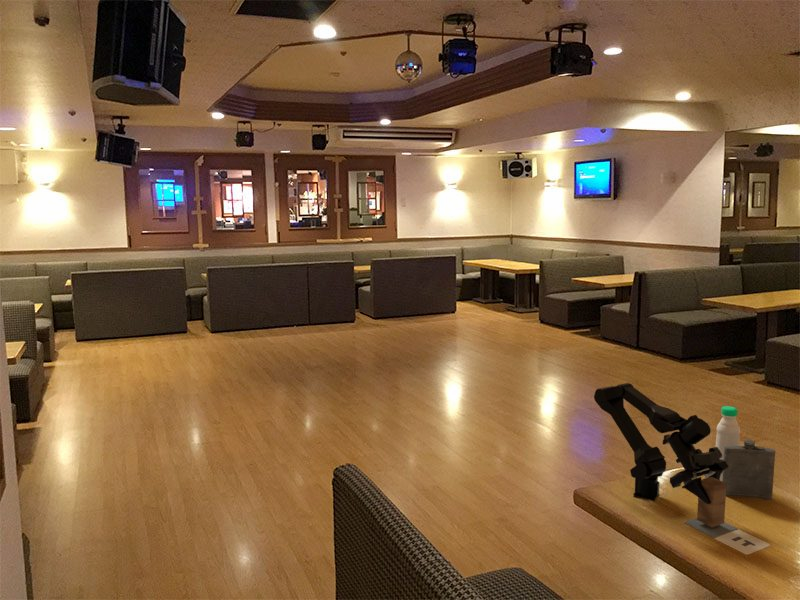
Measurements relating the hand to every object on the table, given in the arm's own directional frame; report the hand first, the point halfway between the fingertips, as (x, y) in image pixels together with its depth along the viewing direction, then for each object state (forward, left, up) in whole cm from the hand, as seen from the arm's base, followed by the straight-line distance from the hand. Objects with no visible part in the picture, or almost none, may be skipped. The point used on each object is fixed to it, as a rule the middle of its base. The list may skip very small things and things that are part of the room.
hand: (716, 501), depth 187 cm
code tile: (+7, -4, -8) cm, 12 cm away
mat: (-1, +1, -8) cm, 8 cm away
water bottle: (-2, +37, -9) cm, 38 cm away
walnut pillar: (-1, +1, -7) cm, 7 cm away
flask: (+5, +28, -9) cm, 29 cm away
